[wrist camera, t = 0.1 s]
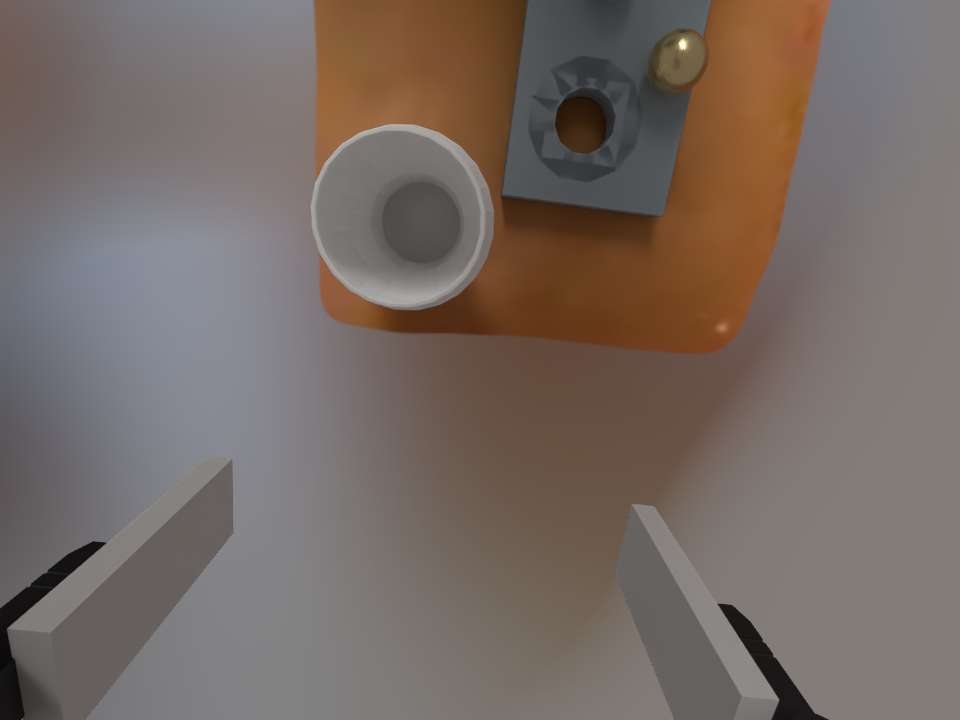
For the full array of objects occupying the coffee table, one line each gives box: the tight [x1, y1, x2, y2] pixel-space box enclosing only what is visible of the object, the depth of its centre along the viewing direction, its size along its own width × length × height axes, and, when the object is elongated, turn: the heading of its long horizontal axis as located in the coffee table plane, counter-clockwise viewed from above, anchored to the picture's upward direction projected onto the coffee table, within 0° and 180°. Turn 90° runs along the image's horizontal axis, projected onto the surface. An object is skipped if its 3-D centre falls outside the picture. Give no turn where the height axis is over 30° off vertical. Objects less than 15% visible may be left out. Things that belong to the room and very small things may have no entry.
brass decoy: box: [647, 28, 709, 96], centre depth 32 cm, size 4×4×4 cm
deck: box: [501, 0, 711, 217], centre depth 35 cm, size 22×13×2 cm, turn 173°
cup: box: [311, 124, 494, 310], centre depth 32 cm, size 11×11×15 cm
